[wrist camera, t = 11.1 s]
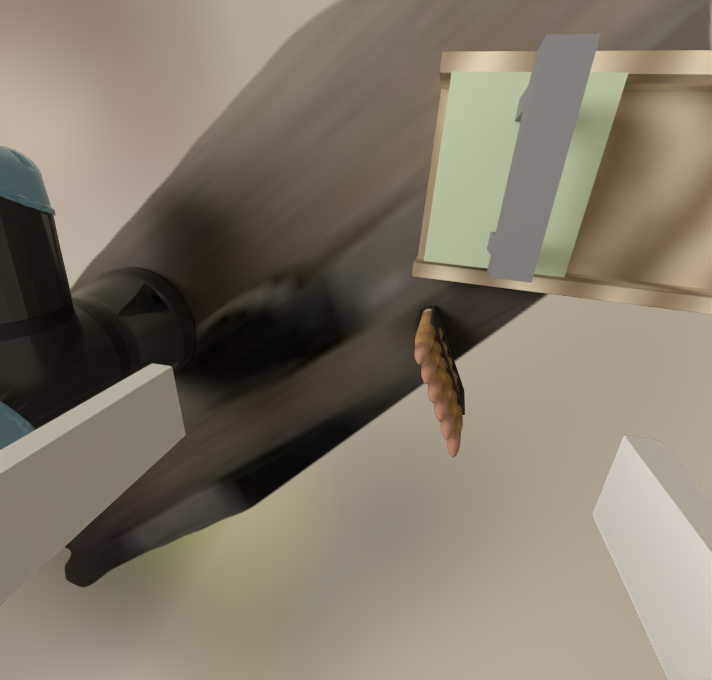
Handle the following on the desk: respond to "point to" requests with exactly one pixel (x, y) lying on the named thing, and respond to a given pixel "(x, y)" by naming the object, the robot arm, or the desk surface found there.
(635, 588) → the robot arm
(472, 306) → the desk surface
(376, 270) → the desk surface
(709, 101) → the bay
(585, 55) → the green panel with handle
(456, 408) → the ammunition clip
